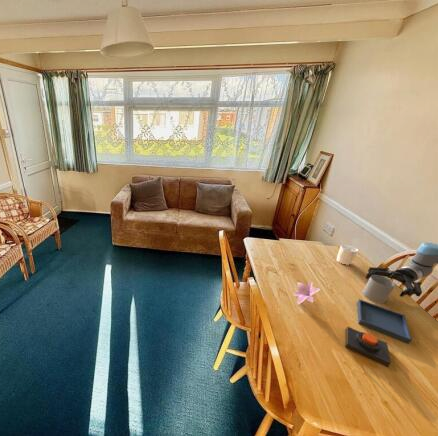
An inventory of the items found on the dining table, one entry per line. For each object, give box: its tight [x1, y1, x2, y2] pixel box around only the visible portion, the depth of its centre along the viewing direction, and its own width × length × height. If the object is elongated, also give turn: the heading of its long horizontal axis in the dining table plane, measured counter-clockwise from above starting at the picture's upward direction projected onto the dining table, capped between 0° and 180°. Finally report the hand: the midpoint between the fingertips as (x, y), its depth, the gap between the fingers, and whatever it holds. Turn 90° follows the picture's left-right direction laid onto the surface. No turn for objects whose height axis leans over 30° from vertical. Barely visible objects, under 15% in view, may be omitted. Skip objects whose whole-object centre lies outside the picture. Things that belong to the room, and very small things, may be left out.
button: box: [362, 332, 378, 346], centre depth 86 cm, size 4×4×2 cm
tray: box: [356, 298, 412, 345], centre depth 98 cm, size 15×15×2 cm
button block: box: [344, 326, 391, 368], centre depth 87 cm, size 12×10×4 cm
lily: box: [293, 281, 321, 306], centre depth 109 cm, size 12×12×10 cm
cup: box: [362, 275, 395, 304], centre depth 110 cm, size 8×8×10 cm
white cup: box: [336, 244, 359, 266], centre depth 136 cm, size 8×8×10 cm
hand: (383, 284), depth 111 cm, fingers open, 13 cm apart
